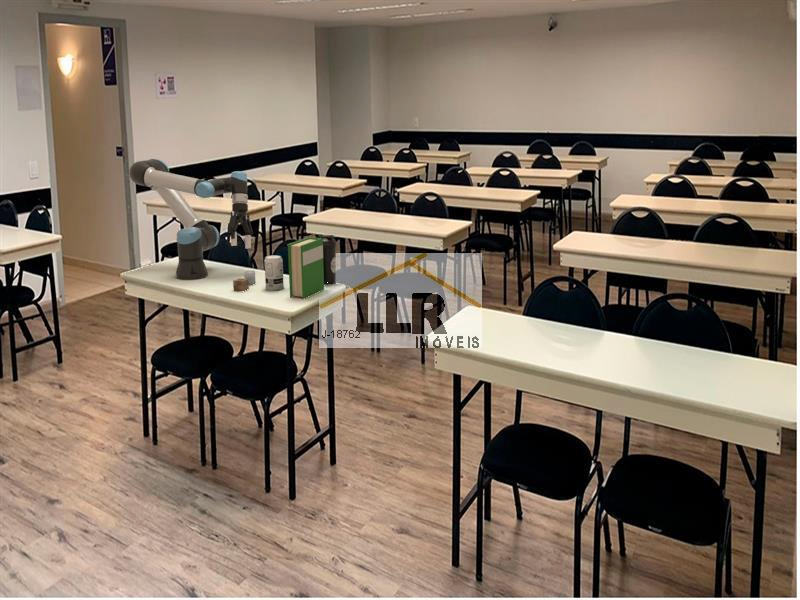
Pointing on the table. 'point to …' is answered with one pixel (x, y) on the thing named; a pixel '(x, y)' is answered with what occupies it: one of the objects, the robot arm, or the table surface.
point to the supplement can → (274, 272)
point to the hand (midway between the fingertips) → (241, 247)
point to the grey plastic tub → (250, 277)
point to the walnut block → (240, 284)
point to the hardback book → (306, 267)
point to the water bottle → (329, 259)
